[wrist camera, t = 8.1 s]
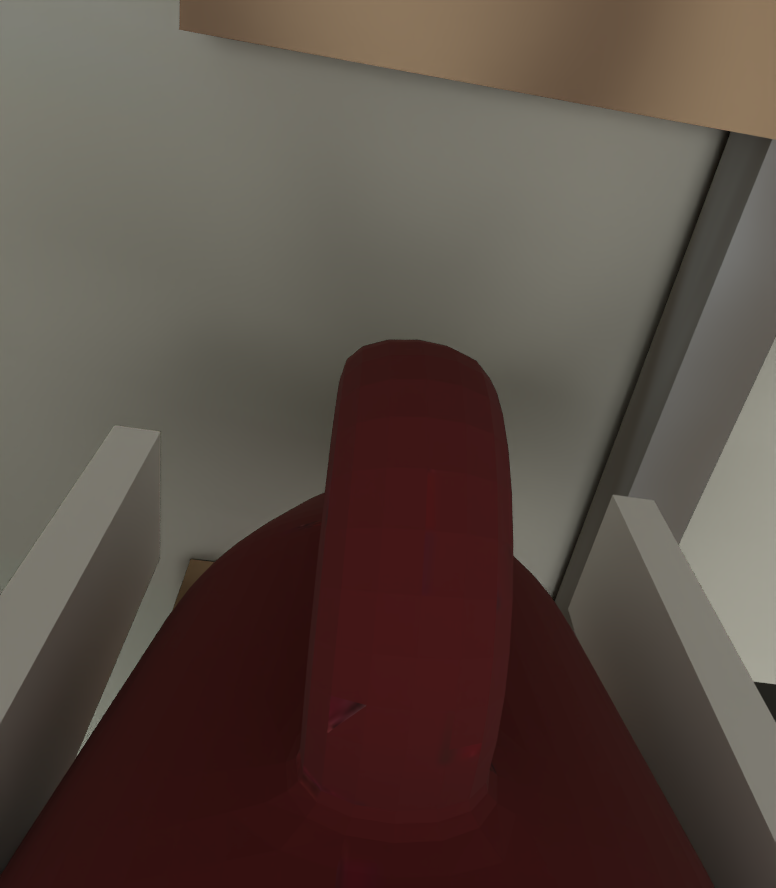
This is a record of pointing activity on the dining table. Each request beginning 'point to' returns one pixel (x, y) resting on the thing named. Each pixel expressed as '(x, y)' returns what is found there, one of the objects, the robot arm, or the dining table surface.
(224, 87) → the dining table surface
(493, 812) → the mug
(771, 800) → the robot arm
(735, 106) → the wooden stand
